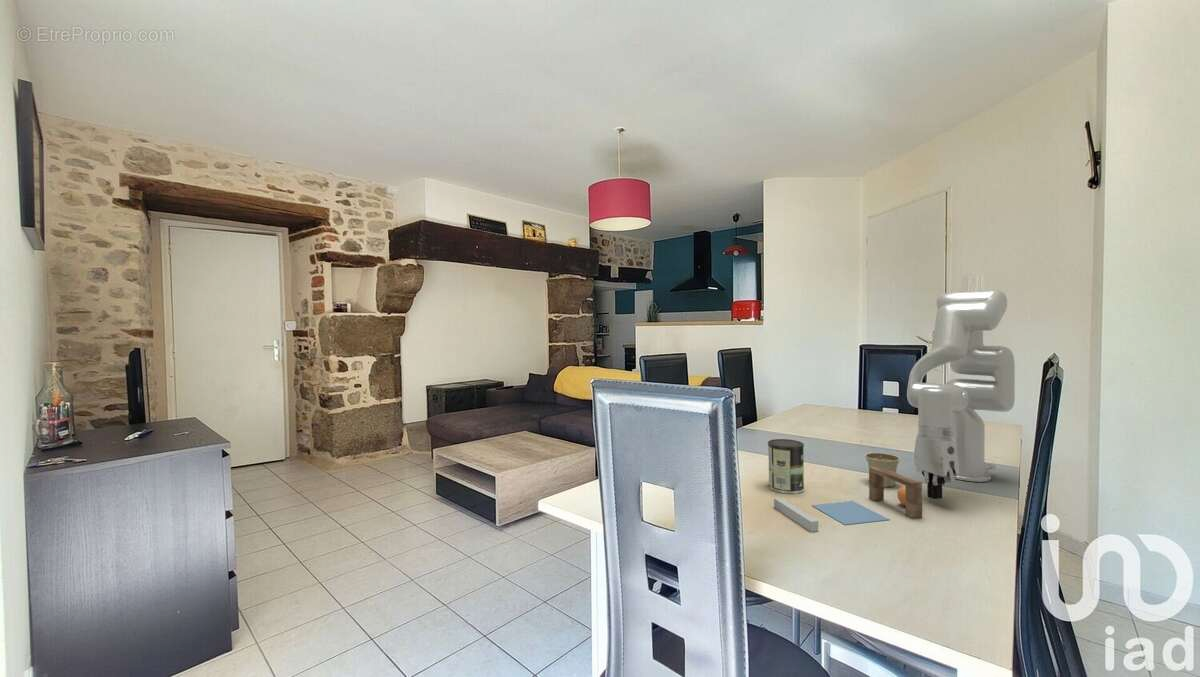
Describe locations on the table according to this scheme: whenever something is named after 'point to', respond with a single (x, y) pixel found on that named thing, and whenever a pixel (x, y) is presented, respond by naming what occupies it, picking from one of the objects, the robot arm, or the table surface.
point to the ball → (902, 495)
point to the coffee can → (786, 466)
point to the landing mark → (850, 512)
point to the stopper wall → (796, 514)
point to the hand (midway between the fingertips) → (934, 497)
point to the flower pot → (883, 464)
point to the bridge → (911, 485)
